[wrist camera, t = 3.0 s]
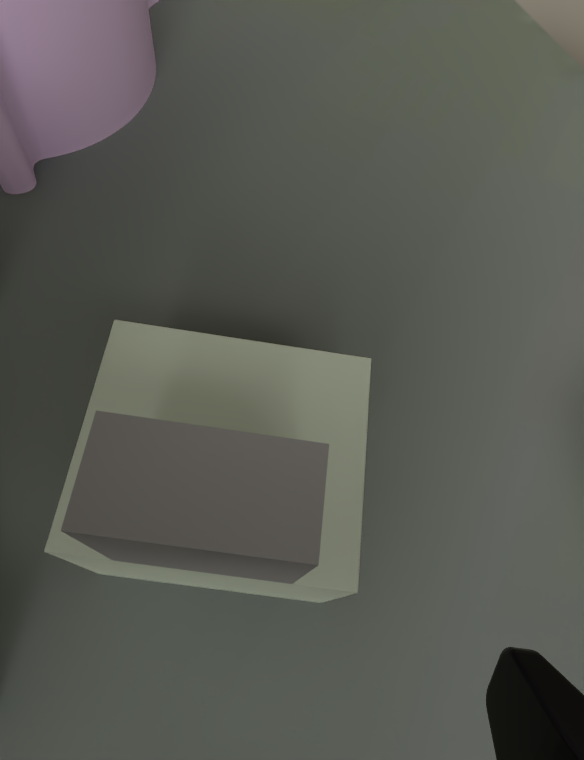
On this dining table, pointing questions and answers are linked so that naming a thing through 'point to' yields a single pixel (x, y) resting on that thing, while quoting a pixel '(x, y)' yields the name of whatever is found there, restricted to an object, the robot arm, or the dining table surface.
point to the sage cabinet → (219, 466)
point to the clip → (68, 78)
